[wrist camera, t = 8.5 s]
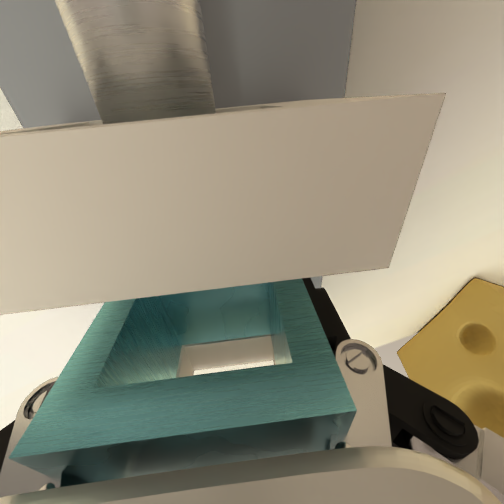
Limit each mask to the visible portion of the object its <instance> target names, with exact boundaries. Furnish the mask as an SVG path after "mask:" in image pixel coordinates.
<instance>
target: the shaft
mask: <svg viewBox="0 0 504 504" xmlns="http://www.w3.org/2000/svg"><path fill="white" fill-rule="evenodd" d="M55 3H56V5H57V8H58V11H59V13H60V16H61V18H62V21H63V23H64V26H65V28H66V31H67V33H68V36H69V39H70V41H71V44H72V46H73V49H74V51H75V54H76V56H77V59H78V61H79V64H80V66H81V69H82V72H83V74H84V77H85V79H86V82H87V84H88V87H89V89H90V92H91V94H92V97H93V100H94V102H95V105H96V107H97V110H98V112H99V115H100V117H101V120H102V122H103V124H113V123H123V122H133V121H143V120H153V119H163V118H173V117H184V116H194V115H204V114H214V113H216V109H215V102H214V96H213V89H212V82H211V75H210V68H209V61H208V54H207V47H206V40H205V34H204V27H203V20H202V13H201V6H200V0H55Z"/></svg>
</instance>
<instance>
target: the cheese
mask: <svg viewBox="0 0 504 504" xmlns="http://www.w3.org/2000/svg"><path fill="white" fill-rule="evenodd" d="M397 354H398V356H399V358H400V360H401V362H402V364H403V366H404V368H405V370H406V372H407V375H408V377H409V379H411V380H413V381H414V382H416V383H418V384H420V385H422V386H424V387H425V388H427V389H429V390H431V391H433V392H435V393H436V394H438V395H440V396H442V397H444V398H446V399H447V400H449V401H451V402H452V403H454V404H455V405H457V406H458V407H459V408H460V409H461V410H462V411H463V412H464V413H466V415H467V416H468V417H469V418H470V420H471V421H472V422H473V424H474V425H476V426H478V427H479V428H481V429H483V428H485V427H486V428H488V429H489V430H491V431H493V432H494V433H496V434H498V435H499V436H501V437H503V438H504V287H502V286H499V285H496V284H492V283H490V282H487V281H484V280H481V279H477V278H474V279H473V280H471V281H470V282H469V283H468V284H467V285H466V286H465V287H464V288H463V289H462V291H461V292H460V293H459V294H458V295H457V296H456V297H455V298H454V299H453V300H452V301H451V302H450V304H449V305H448V306H447V307H445V308H444V309H443V310H442V311H441V312H440V313H439V314H438V315H437V316H436V317H435V318H434V319H433V320H432V321H431V322H430V323H429V324H428V325H426V326H425V327H424V328H423V329H422V330H421V331H420V332H419V333H418V334H416V335H415V336H414V337H413V338H412V339H411V340H409V341H408V342H407V343H406V344H405V345H404V346H402V347H401V348H400V349H399V350H398V351H397Z"/></svg>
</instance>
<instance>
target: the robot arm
mask: <svg viewBox="0 0 504 504" xmlns="http://www.w3.org/2000/svg"><path fill="white" fill-rule="evenodd" d="M302 280H303V282H304V285H305V287H306V289H307V292H308V294H309V296H310V299H311V301H312V304H313V306H314V308H315V311H316V313H317V316H318V318H319V320H320V323H321V325H322V328H323V330H324V332H325V335H326V337H327V340H328V342H329V344H330V347H331V349H332V352H333V354H334V356H335V359H336V361H337V364H338V366H339V368H340V371H341V373H342V376H343V378H344V380H345V383H346V385H347V388H348V390H349V392H350V395H351V397H352V399H353V402H354V404H355V407H356V409H357V412H356V415H355V417H354V419H353V422H352V424H351V427H350V429H349V431H348V432H345V433H337V434H331V436H330V439H329V444H328V448H327V450H323V451H315V452H306V453H298V454H291V455H284V456H276V457H269V458H262V459H254V460H247V461H240V462H232V463H225V464H218V465H211V466H204V467H197V468H190V469H183V470H176V471H169V472H162V473H155V474H148V475H141V476H134V477H127V478H120V479H113V480H106V481H99V482H93V483H86V484H82V483H80V482H78V481H76V480H74V479H72V478H70V476H69V475H67V474H65V473H63V472H57V473H50V474H42V473H40V472H37V471H35V470H33V469H31V468H28V467H26V466H24V465H22V464H20V463H17V462H15V461H13V460H11V459H9V456H10V455H11V453H12V451H13V450H14V448H15V447H16V445H17V443H18V442H19V440H20V439H21V437H22V435H23V434H24V432H25V431H26V429H27V427H28V426H29V424H30V422H31V421H32V419H33V418H34V416H35V414H36V413H37V411H38V410H39V408H40V406H41V405H42V403H43V401H44V400H45V398H46V397H47V395H48V393H49V392H50V390H51V389H52V387H53V385H54V384H55V382H56V381H57V379H58V377H55V378H52V379H49V380H47V381H46V382H44V383H42V384H41V385H39V386H38V387H37V388H35V389H34V390H33V391H32V392H31V393H30V394H29V395H28V396H27V397H26V398H25V400H24V401H23V403H22V404H21V406H20V408H19V410H18V412H17V416H16V419H15V420H14V421H13V422H12V423H10V424H9V425H8V426H6V427H5V428H3V429H2V430H1V431H0V504H504V438H503V437H501V436H499V435H498V434H496V433H494V432H493V431H491V430H489V429H488V428H486V427H485V428H483V429H481V428H479V427H478V426H476V425H474V424H473V422H472V421H471V420H470V418H469V417H468V416H467V415H466V413H464V412H463V411H462V410H461V409H460V408H459V407H458V406H457V405H455V404H454V403H452V402H451V401H449V400H447V399H446V398H444V397H442V396H440V395H438V394H436V393H435V392H433V391H431V390H429V389H427V388H425V387H424V386H422V385H420V384H418V383H416V382H414V381H413V380H411V379H409V378H407V377H405V376H403V375H401V374H400V373H398V372H396V371H394V370H392V369H390V368H389V367H387V366H385V365H383V364H382V361H381V357H380V356H379V354H378V353H377V351H376V350H375V349H374V348H373V347H372V346H370V345H369V344H367V343H365V342H363V341H360V340H355V339H351V338H350V336H349V335H348V333H347V331H346V329H345V327H344V325H343V323H342V321H341V319H340V317H339V315H338V313H337V311H336V309H335V307H334V305H333V304H332V302H331V300H330V298H329V296H328V294H327V292H326V290H325V289H324V288H316V289H315V287H314V284H313V282H312V280H311V278H310V277H309V278H302Z"/></svg>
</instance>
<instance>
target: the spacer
mask: <svg viewBox="0 0 504 504" xmlns="http://www.w3.org/2000/svg"><path fill="white" fill-rule="evenodd" d="M268 334H271V340H272V345H273V351H274V356H275V362H276V365H271V366H263V367H255V368H248V369H240V370H232V371H224V372H217V373H209V374H201V375H193V376H186V377H178V378H176V374H177V369H178V363H179V358H180V353H181V348H182V345H188V344H196V343H204V342H212V341H220V340H228V339H236V338H244V337H252V336H260V335H268ZM356 412H357V409H356V407H355V404H354V402H353V399H352V397H351V395H350V392H349V390H348V388H347V385H346V383H345V380H344V378H343V376H342V373H341V371H340V368H339V366H338V364H337V361H336V359H335V356H334V354H333V352H332V349H331V347H330V344H329V342H328V340H327V337H326V335H325V332H324V330H323V328H322V325H321V323H320V320H319V318H318V316H317V313H316V311H315V308H314V306H313V304H312V301H311V299H310V296H309V294H308V292H307V289H306V287H305V285H304V282H303V280H302V278H301V279H293V280H284V281H276V282H268V283H260V284H251V285H243V286H235V287H227V288H218V289H210V290H202V291H194V292H185V293H177V294H169V295H160V296H152V297H144V298H136V299H127V300H119V301H111V302H105V303H104V305H103V306H102V308H101V310H100V311H99V313H98V314H97V316H96V318H95V319H94V321H93V322H92V324H91V326H90V327H89V329H88V330H87V332H86V334H85V335H84V337H83V339H82V340H81V342H80V343H79V345H78V347H77V348H76V350H75V351H74V353H73V355H72V356H71V358H70V360H69V361H68V363H67V364H66V366H65V368H64V369H63V371H62V372H61V374H60V376H59V377H58V379H57V381H56V382H55V384H54V385H53V387H52V389H51V390H50V392H49V393H48V395H47V397H46V398H45V400H44V401H43V403H42V405H41V406H40V408H39V410H38V411H37V413H36V414H35V416H34V418H33V419H32V421H31V422H30V424H29V426H28V427H27V429H26V431H25V432H24V434H23V435H22V437H21V439H20V440H19V442H18V443H17V445H16V447H15V448H14V450H13V451H12V453H11V455H10V456H9V459H11V460H13V461H15V462H17V463H20V464H22V465H24V466H26V467H28V468H31V469H33V470H35V471H37V472H40V473H42V474H50V473H57V472H63V473H65V474H67V475H69V476H70V478H72V479H74V480H76V481H78V482H80V483H82V484H86V483H93V482H99V481H106V480H113V479H120V478H127V477H134V476H141V475H148V474H155V473H162V472H169V471H176V470H183V469H190V468H197V467H204V466H211V465H218V464H225V463H232V462H240V461H247V460H254V459H262V458H269V457H276V456H284V455H291V454H298V453H306V452H315V451H323V450H327V448H328V444H329V439H330V436H331V434H337V433H345V432H348V431H349V429H350V427H351V424H352V422H353V419H354V417H355V415H356Z"/></svg>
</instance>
